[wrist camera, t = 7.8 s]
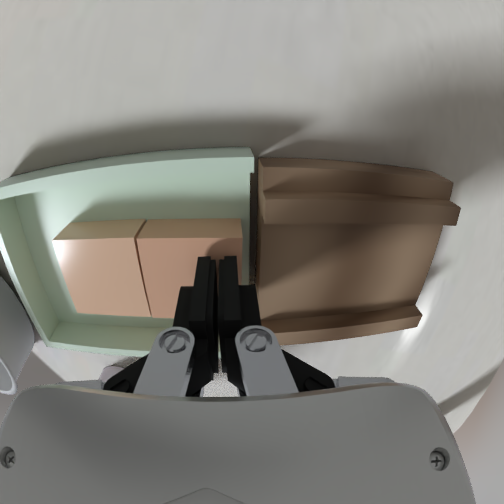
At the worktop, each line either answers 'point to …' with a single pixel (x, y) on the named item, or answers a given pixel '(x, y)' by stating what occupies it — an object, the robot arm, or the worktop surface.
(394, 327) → the chute
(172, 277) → the tile
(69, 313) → the tray
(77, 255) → the tile
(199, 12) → the worktop surface
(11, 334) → the saucepan
